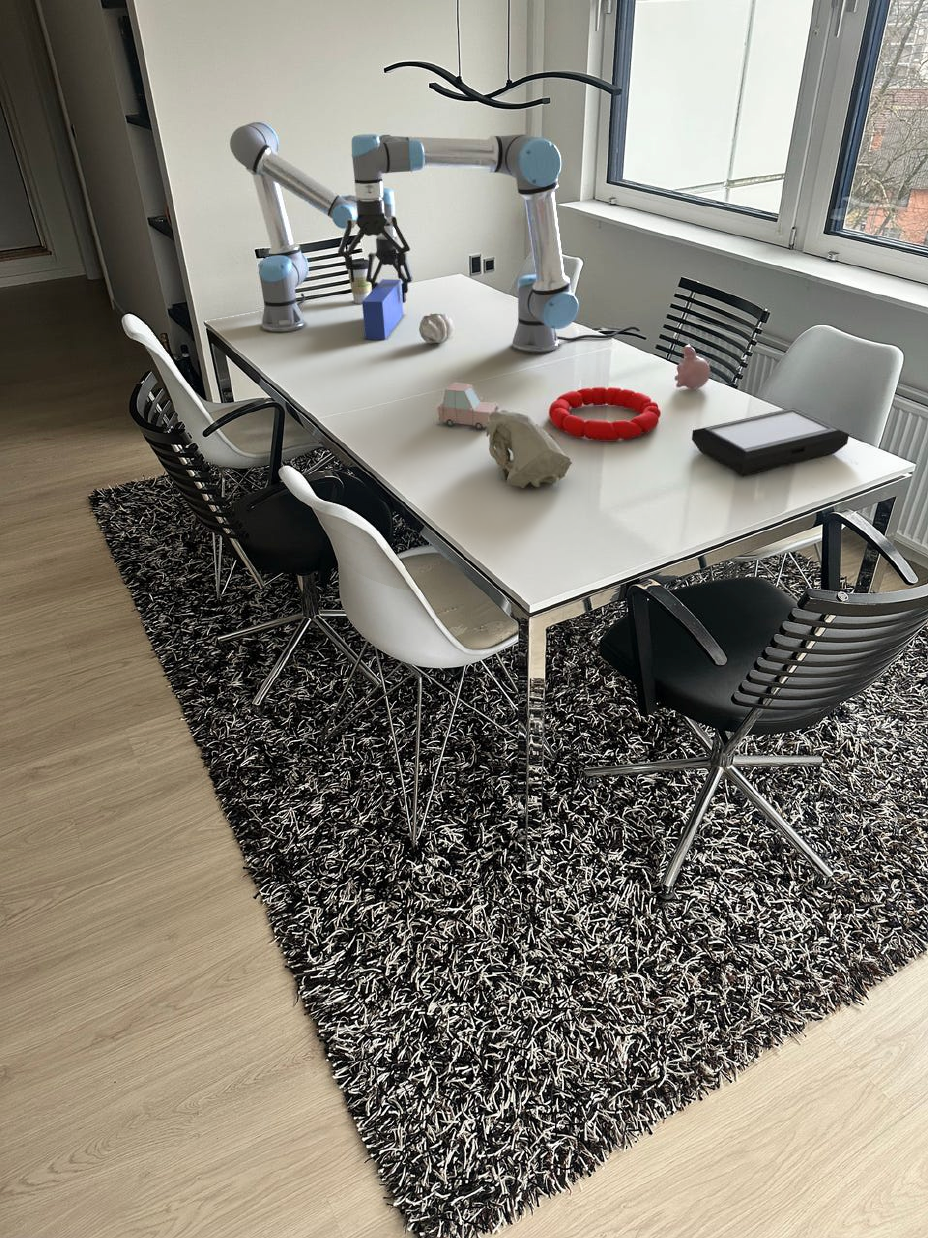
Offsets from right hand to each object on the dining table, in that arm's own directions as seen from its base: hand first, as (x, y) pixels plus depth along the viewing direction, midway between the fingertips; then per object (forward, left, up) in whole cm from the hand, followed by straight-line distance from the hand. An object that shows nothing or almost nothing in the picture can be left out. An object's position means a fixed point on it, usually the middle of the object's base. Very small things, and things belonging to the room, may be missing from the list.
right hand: (376, 279), depth 256 cm
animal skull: (-4, +74, -31) cm, 81 cm away
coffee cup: (-31, -90, -31) cm, 100 cm away
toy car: (-7, +41, -31) cm, 52 cm away
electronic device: (-62, +98, -31) cm, 120 cm away
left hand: (-31, -64, -25) cm, 76 cm away
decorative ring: (-39, +60, -31) cm, 78 cm away
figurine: (-75, +53, -31) cm, 97 cm away
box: (-25, -55, -31) cm, 68 cm away
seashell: (-32, -27, -31) cm, 52 cm away
